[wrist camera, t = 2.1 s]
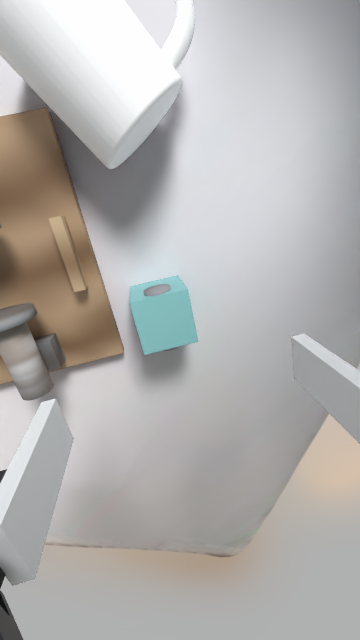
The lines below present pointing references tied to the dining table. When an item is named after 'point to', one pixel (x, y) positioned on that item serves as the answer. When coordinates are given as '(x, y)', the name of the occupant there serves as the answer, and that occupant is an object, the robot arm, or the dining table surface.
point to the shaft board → (45, 263)
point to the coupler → (162, 314)
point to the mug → (97, 67)
